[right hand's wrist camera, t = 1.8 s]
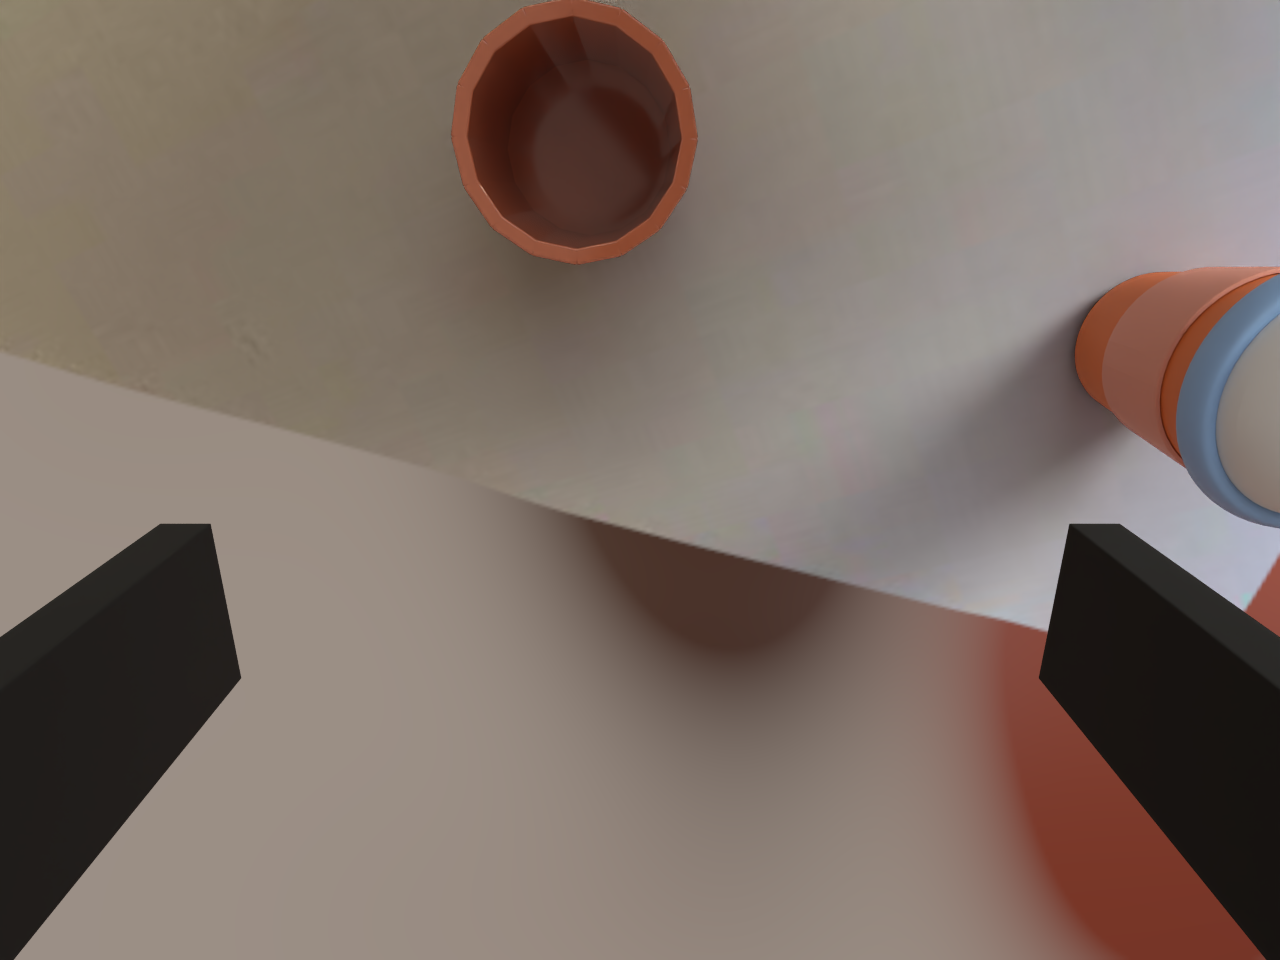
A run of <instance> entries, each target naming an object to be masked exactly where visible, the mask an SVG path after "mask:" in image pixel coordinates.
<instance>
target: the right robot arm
mask: <svg viewBox="0 0 1280 960" xmlns="http://www.w3.org/2000/svg"><path fill="white" fill-rule="evenodd" d="M240 679H241V675H240V670H239V665H238V660H237V655H236V649H235V645H234V640H233V634H232V630H231V624H230V619H229V614H228V609H227V604H226V599H225V595H224V589H223V584H222V579H221V574H220V569H219V564H218V559H217V554H216V549H215V544H214V539H213V534H212V529H211V524H159V525H158V526H157V527H155V528H154V529H152V530H151V531H150V532H148V533H147V534H145V535H144V536H143V537H141V538H140V539H138V540H137V541H135V542H134V543H133V544H131V545H130V546H128V547H127V548H126V549H124V550H123V551H121V552H120V553H119V554H117V555H116V556H114V557H113V558H111V559H110V560H109V561H107V562H106V563H104V564H103V565H102V566H100V567H99V568H97V569H96V570H95V571H93V572H92V573H90V574H89V575H87V576H86V577H85V578H83V579H82V580H80V581H79V582H78V583H76V584H75V585H73V586H72V587H70V588H69V589H68V590H66V591H65V592H63V593H62V594H61V595H59V596H58V597H56V598H55V599H54V600H52V601H51V602H49V603H48V604H47V605H45V606H44V607H42V608H41V609H40V610H38V611H37V612H35V613H34V614H32V615H31V616H30V617H28V618H27V619H25V620H24V621H22V622H21V623H20V624H18V625H17V626H15V627H14V628H13V629H11V630H10V631H8V632H7V633H5V634H4V635H3V636H1V637H0V960H14V959H15V957H16V956H17V955H18V954H19V952H20V951H21V950H22V949H23V947H24V946H25V945H26V944H27V943H28V941H29V940H30V939H31V938H32V936H33V935H34V934H35V933H36V931H37V930H38V929H39V928H40V926H41V925H42V924H43V923H44V921H45V920H46V919H47V918H48V917H49V915H50V914H51V913H52V912H53V910H54V909H55V908H56V907H57V905H58V904H59V903H60V902H61V900H62V899H63V898H64V897H65V895H66V894H67V893H68V892H69V891H70V889H71V888H72V887H73V886H74V884H75V883H76V882H77V881H78V879H79V878H80V877H81V876H82V874H83V873H84V872H85V871H86V869H87V868H88V867H89V866H90V864H91V863H92V862H93V861H94V860H95V858H96V857H97V856H98V855H99V853H100V852H101V851H102V850H103V848H104V847H105V846H106V845H107V843H108V842H109V841H110V840H111V839H112V837H113V836H114V835H115V834H116V832H117V831H118V830H119V829H120V827H121V826H122V825H123V824H124V822H125V821H126V820H127V819H128V817H129V816H130V815H131V814H132V813H133V811H134V810H135V809H136V808H137V806H138V805H139V804H140V803H141V801H142V800H143V799H144V798H145V796H146V795H147V794H148V793H149V792H150V790H151V789H152V788H153V787H154V785H155V784H156V783H157V782H158V780H159V779H160V778H161V777H162V775H163V774H164V773H165V772H166V770H167V769H168V768H169V767H170V766H171V764H172V763H173V762H174V761H175V759H176V758H177V757H178V756H179V754H180V753H181V752H182V751H183V749H184V748H185V747H186V746H187V744H188V743H189V742H190V741H191V740H192V738H193V737H194V736H195V735H196V733H197V732H198V731H199V730H200V728H201V727H202V726H203V725H204V723H205V722H206V721H207V720H208V718H209V717H210V716H211V715H212V714H213V712H214V711H215V710H216V709H217V707H218V706H219V705H220V704H221V702H222V701H223V700H224V699H225V697H226V696H227V695H228V694H229V693H230V691H231V690H232V689H233V688H234V686H235V685H236V684H237V682H238V681H239V680H240ZM1039 679H1040V680H1041V681H1042V683H1043V684H1044V685H1045V686H1046V688H1047V689H1048V690H1049V691H1050V693H1051V694H1052V695H1053V696H1054V697H1055V699H1056V700H1057V701H1058V702H1059V704H1060V705H1061V706H1062V707H1063V708H1064V710H1065V711H1066V712H1067V713H1068V715H1069V716H1070V717H1071V718H1072V720H1073V721H1074V722H1075V723H1076V725H1077V726H1078V727H1079V728H1080V730H1081V731H1082V732H1083V733H1084V735H1085V736H1086V737H1087V738H1088V740H1089V741H1090V742H1091V743H1092V744H1093V746H1094V747H1095V748H1096V749H1097V751H1098V752H1099V753H1100V754H1101V756H1102V757H1103V758H1104V759H1105V761H1106V762H1107V763H1108V764H1109V766H1110V767H1111V768H1112V769H1113V770H1114V772H1115V773H1116V774H1117V775H1118V777H1119V778H1120V779H1121V780H1122V782H1123V783H1124V784H1125V785H1126V787H1127V788H1128V789H1129V790H1130V791H1131V793H1132V794H1133V795H1134V796H1135V798H1136V799H1137V800H1138V801H1139V803H1140V804H1141V805H1142V806H1143V807H1144V809H1145V810H1146V811H1147V813H1148V814H1149V815H1150V816H1151V817H1152V819H1153V820H1154V821H1155V822H1156V824H1157V825H1158V826H1159V827H1160V829H1161V830H1162V831H1163V832H1164V834H1165V835H1166V836H1167V837H1168V838H1169V840H1170V841H1171V842H1172V843H1173V845H1174V846H1175V847H1176V848H1177V850H1178V851H1179V852H1180V853H1181V855H1182V856H1183V857H1184V858H1185V860H1186V861H1187V862H1188V863H1189V865H1190V866H1191V867H1192V868H1193V870H1194V871H1195V872H1196V873H1197V874H1198V876H1199V877H1200V878H1201V879H1202V881H1203V882H1204V883H1205V884H1206V886H1207V887H1208V888H1209V889H1210V891H1211V892H1212V893H1213V894H1214V895H1215V897H1216V898H1217V899H1218V900H1219V902H1220V903H1221V904H1222V905H1223V907H1224V908H1225V909H1226V910H1227V912H1228V913H1229V914H1230V915H1231V917H1232V918H1233V919H1234V920H1235V922H1236V923H1237V924H1238V925H1239V926H1240V928H1241V929H1242V930H1243V931H1244V933H1245V934H1246V935H1247V936H1248V938H1249V939H1250V940H1251V941H1252V943H1253V944H1254V945H1255V946H1256V947H1257V949H1258V950H1259V951H1260V952H1261V954H1262V955H1263V956H1264V957H1265V959H1266V960H1280V637H1279V636H1277V635H1276V634H1275V633H1273V632H1272V631H1270V630H1269V629H1267V628H1266V627H1265V626H1263V625H1262V624H1260V623H1259V622H1258V621H1256V620H1255V619H1253V618H1252V617H1251V616H1249V615H1248V614H1246V613H1245V612H1243V611H1242V610H1241V609H1239V608H1238V607H1236V606H1235V605H1234V604H1232V603H1231V602H1229V601H1228V600H1226V599H1225V598H1224V597H1222V596H1221V595H1219V594H1218V593H1217V592H1215V591H1214V590H1212V589H1211V588H1210V587H1208V586H1207V585H1205V584H1204V583H1202V582H1201V581H1200V580H1198V579H1197V578H1195V577H1194V576H1193V575H1191V574H1190V573H1188V572H1187V571H1186V570H1184V569H1183V568H1181V567H1180V566H1178V565H1177V564H1176V563H1174V562H1173V561H1171V560H1170V559H1169V558H1167V557H1166V556H1164V555H1163V554H1161V553H1160V552H1159V551H1157V550H1156V549H1154V548H1153V547H1152V546H1150V545H1149V544H1147V543H1146V542H1145V541H1143V540H1142V539H1140V538H1139V537H1137V536H1136V535H1135V534H1133V533H1132V532H1130V531H1129V530H1128V529H1126V528H1125V527H1123V526H1122V525H1121V524H1069V529H1068V534H1067V539H1066V544H1065V549H1064V554H1063V559H1062V564H1061V569H1060V574H1059V579H1058V584H1057V589H1056V594H1055V599H1054V604H1053V609H1052V614H1051V619H1050V624H1049V629H1048V634H1047V639H1046V645H1045V650H1044V655H1043V660H1042V665H1041V670H1040V675H1039Z"/></svg>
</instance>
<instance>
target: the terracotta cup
mask: <svg viewBox="0 0 1280 960" xmlns="http://www.w3.org/2000/svg"><path fill="white" fill-rule="evenodd" d="M451 136H452V138H451V139H452V143H453V147H454V151H455V155H456V159H457V163H458V167H459V171H460V175H461V179H462V183H463V186H465V187H464V188H465V190H466V192H467V193H468V194H469V196H470V197H471V199H472V200H473V202H474V203H475V205H476V206H477V208H478V209H479V210H480V212H481V213H482V215H483V216H484V218H485V219H486V221H487V222H488V224H489V225H490V226H491V227H493V229H494V230H495V231H496V232H498V233H499V234H501V235H502V236H504V237H505V238H507V239H508V240H510V241H511V242H513V243H514V244H516V245H517V246H518V247H520V248H521V249H523V250H524V251H526V252H527V253H529V254H531V255H533V256H537V257H541V258H546V259H551V260H555V261H560V262H565V263H569V264H574V265H576V264H578V265H580V264H585V263H590V262H595V261H600V260H605V259H610V258H615V257H620V256H621V255H624V254H626V253H627V252H629V251H630V250H632V249H633V248H635V247H636V246H638V245H639V244H640V243H642V242H643V241H645V240H646V239H648V238H649V237H651V236H652V235H654V234H655V233H657V232H658V231H659V230H660V229H661V228H662V227H663V225H664V224H665V222H666V221H667V219H668V218H669V216H670V215H671V213H672V212H673V210H674V208H675V207H676V205H677V204H678V202H679V201H680V199H681V198H682V196H683V195H684V193H685V192H686V188H688V184H689V179H690V174H691V170H692V165H693V160H694V156H695V151H696V146H697V142H698V140H697V138H698V135H697V128H696V122H695V115H694V109H693V102H692V96H691V89H690V87H689V84H688V82H687V80H686V78H685V77H684V75H683V73H682V71H681V70H680V68H679V66H678V64H677V63H676V61H675V59H674V58H673V56H672V54H671V52H670V51H669V49H668V47H667V45H666V44H665V42H664V41H663V40H662V39H661V38H660V37H659V36H657V35H656V34H655V33H653V32H652V31H651V30H650V29H648V28H647V27H646V26H644V25H643V24H642V23H641V22H639V21H638V20H637V19H635V18H634V17H633V16H631V15H630V14H629V13H628V12H626V11H625V10H623V9H622V10H621V8H619V7H615V6H611V5H606V4H602V3H598V2H594V1H590V0H553V1H548V2H544V3H539V4H534V5H530V6H525V7H523V8H521V9H519V10H518V11H517V12H516V13H514V14H513V15H512V16H510V17H509V18H508V19H507V20H505V21H504V22H503V23H501V24H500V25H499V26H497V27H496V28H495V29H494V30H492V31H491V32H490V33H488V34H487V35H486V36H484V37H483V39H482V40H481V41H480V43H479V45H478V47H477V49H476V50H475V52H474V54H473V56H472V58H471V60H470V61H469V63H468V65H467V67H466V69H465V71H464V72H463V74H462V76H461V78H460V80H459V82H458V85H457V89H456V97H455V105H454V114H453V122H452V131H451Z"/></svg>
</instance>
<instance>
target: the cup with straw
mask: <svg viewBox="0 0 1280 960" xmlns="http://www.w3.org/2000/svg"><path fill="white" fill-rule="evenodd" d="M1075 364H1076V370H1077V374H1078V376H1079V379H1080V381H1081V383H1082V385H1083V387H1084V388H1085V390H1086V391H1087V392H1088V393H1089V395H1090V396H1091V397H1092V398H1094V399H1095V400H1096V401H1097V402H1099V403H1100V404H1101V405H1103V406H1104V407H1106V408H1107V409H1108V410H1110V411H1111V412H1113V413H1114V415H1115V416H1116V417H1117V418H1118V420H1119V421H1120V422H1121V423H1122V424H1123V425H1125V426H1126V427H1127V428H1128V429H1130V430H1131V431H1132V432H1134V433H1135V434H1137V435H1138V436H1140V437H1141V438H1143V439H1144V440H1145V441H1147V442H1148V443H1150V444H1151V445H1153V446H1154V447H1156V448H1157V449H1159V450H1160V451H1161V452H1163V453H1164V454H1166V455H1167V456H1169V457H1170V458H1172V459H1173V460H1175V461H1176V462H1177V463H1179V464H1180V465H1182V466H1183V467H1185V468H1186V469H1187V471H1188V473H1189V474H1190V476H1191V478H1192V479H1193V481H1194V482H1195V484H1196V485H1197V486H1198V487H1199V488H1200V489H1201V491H1202V492H1203V493H1204V494H1205V495H1206V496H1207V497H1208V498H1210V499H1211V500H1212V501H1213V502H1214V503H1216V504H1217V505H1219V506H1220V507H1221V508H1223V509H1224V510H1226V511H1228V512H1230V513H1231V514H1233V515H1235V516H1237V517H1240V518H1242V519H1245V520H1247V521H1250V522H1253V523H1257V524H1260V525H1264V526H1269V527H1275V528H1280V267H1204V268H1197V269H1192V270H1188V271H1184V272H1155V273H1148V274H1143V275H1140V276H1137V277H1134V278H1131V279H1129V280H1127V281H1125V282H1123V283H1121V284H1119V285H1117V286H1116V287H1114V288H1113V289H1111V290H1110V291H1109V292H1107V293H1106V294H1105V295H1104V296H1103V297H1102V298H1101V299H1100V300H1099V301H1098V302H1097V303H1096V304H1095V305H1094V307H1093V308H1092V309H1091V311H1090V312H1089V313H1088V315H1087V317H1086V318H1085V320H1084V322H1083V324H1082V326H1081V328H1080V331H1079V334H1078V337H1077V341H1076V347H1075Z"/></svg>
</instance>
